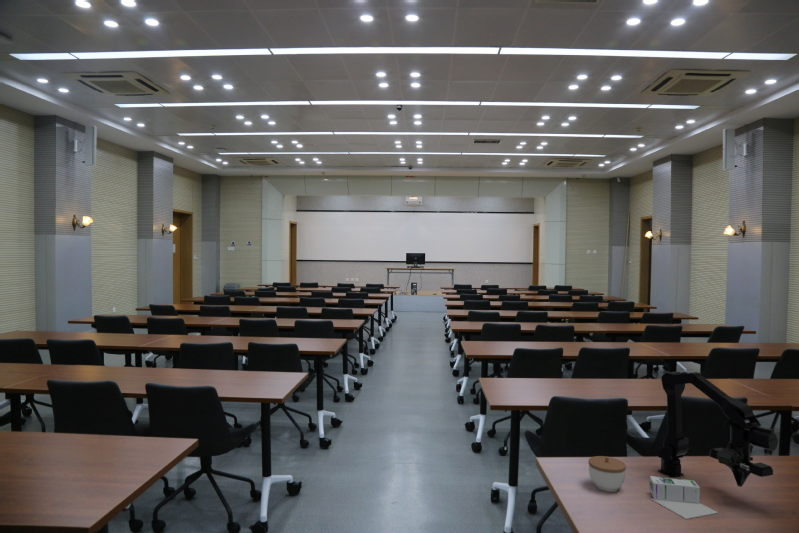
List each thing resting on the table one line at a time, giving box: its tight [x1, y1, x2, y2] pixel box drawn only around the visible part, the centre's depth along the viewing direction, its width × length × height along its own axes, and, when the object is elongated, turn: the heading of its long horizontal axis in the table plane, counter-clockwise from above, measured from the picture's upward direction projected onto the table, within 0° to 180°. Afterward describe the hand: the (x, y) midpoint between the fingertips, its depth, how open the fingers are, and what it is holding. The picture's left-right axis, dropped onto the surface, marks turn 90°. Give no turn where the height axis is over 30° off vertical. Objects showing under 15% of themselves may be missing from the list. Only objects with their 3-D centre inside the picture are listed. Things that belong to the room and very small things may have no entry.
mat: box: [649, 497, 719, 520], centre depth 165 cm, size 14×14×1 cm
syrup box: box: [648, 475, 701, 503], centre depth 171 cm, size 6×6×14 cm
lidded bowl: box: [588, 455, 627, 493], centre depth 179 cm, size 13×13×11 cm
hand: (739, 486), depth 170 cm, fingers closed
